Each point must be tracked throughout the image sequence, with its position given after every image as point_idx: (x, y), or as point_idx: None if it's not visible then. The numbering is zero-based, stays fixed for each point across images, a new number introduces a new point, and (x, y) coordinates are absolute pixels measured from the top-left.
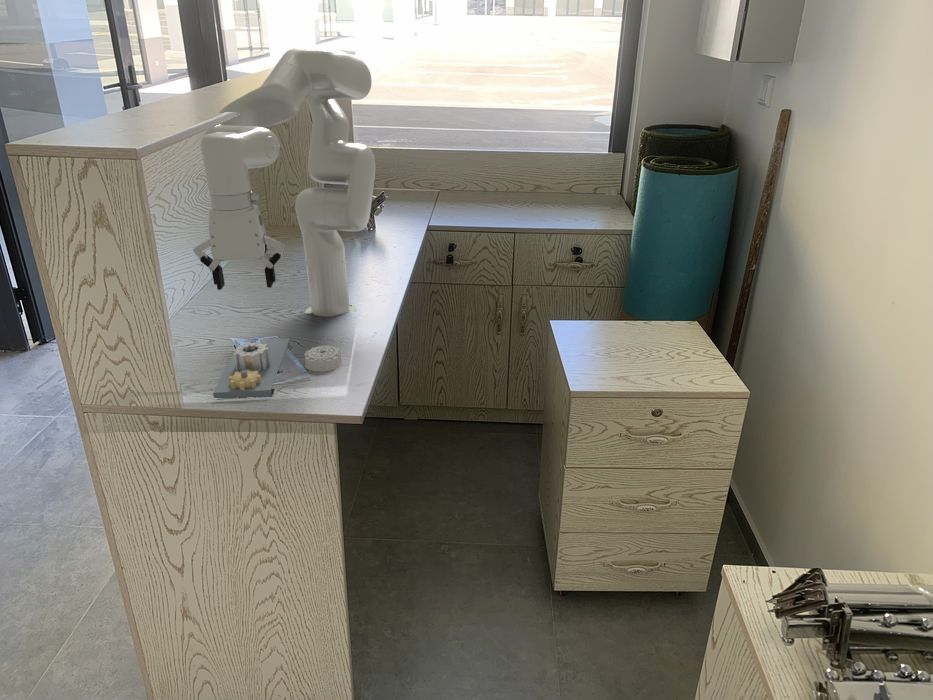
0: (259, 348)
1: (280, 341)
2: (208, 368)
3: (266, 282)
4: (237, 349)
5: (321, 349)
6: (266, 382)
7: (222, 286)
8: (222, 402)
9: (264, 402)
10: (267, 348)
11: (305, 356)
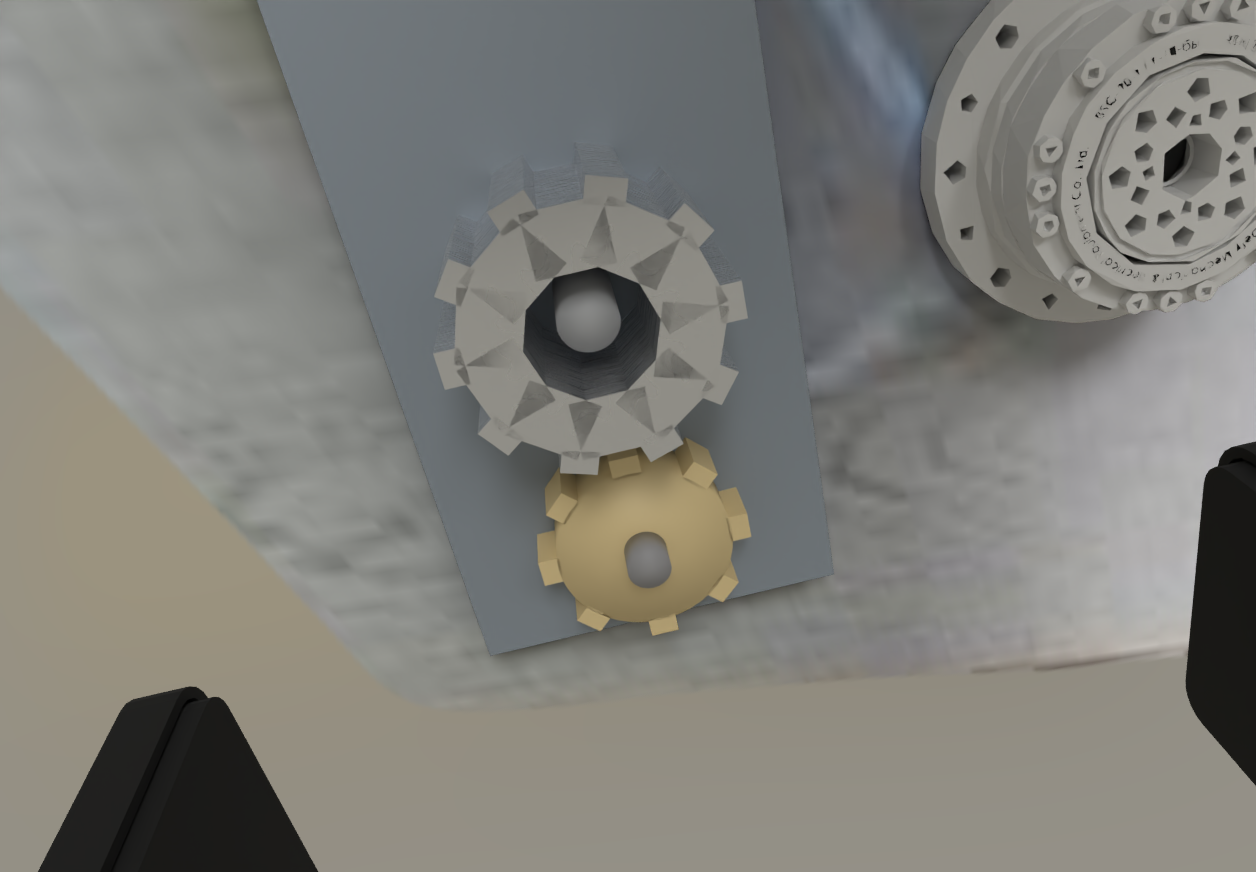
0: (670, 313)
1: None
2: (165, 235)
3: (1253, 780)
4: (475, 359)
5: (1172, 104)
6: (775, 494)
7: (289, 848)
8: (556, 641)
9: (797, 604)
10: (743, 301)
11: (1037, 234)
